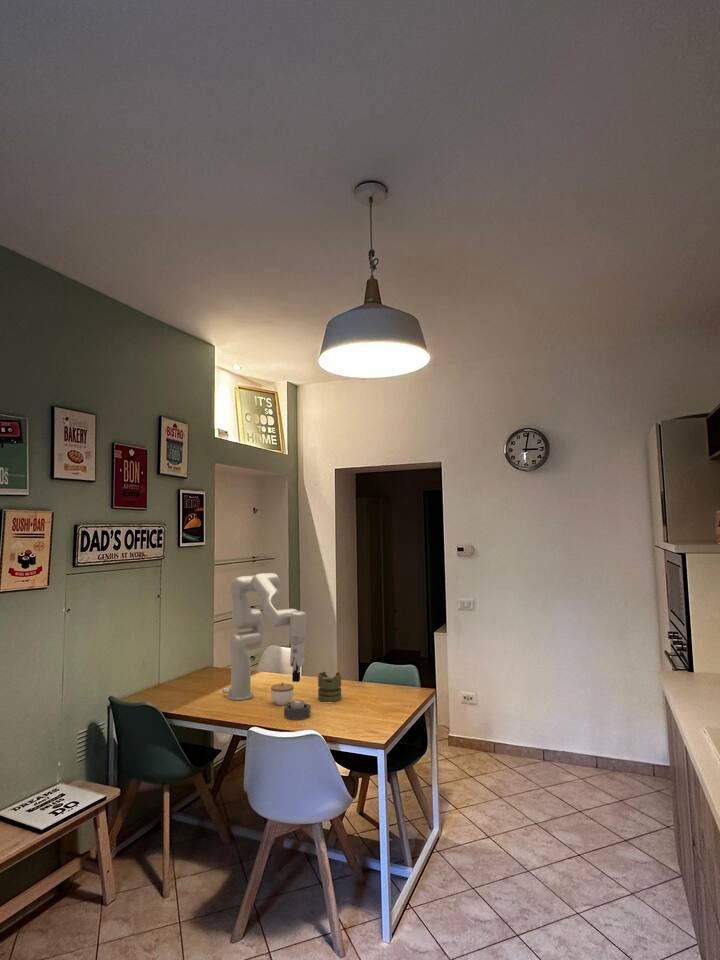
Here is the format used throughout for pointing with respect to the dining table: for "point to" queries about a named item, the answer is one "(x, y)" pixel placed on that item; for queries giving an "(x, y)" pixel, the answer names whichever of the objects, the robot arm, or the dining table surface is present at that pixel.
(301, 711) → the dark grey round ring
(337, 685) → the olive green vest
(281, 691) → the lidded jar
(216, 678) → the dining table surface
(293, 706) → the cap
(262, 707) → the dining table surface
